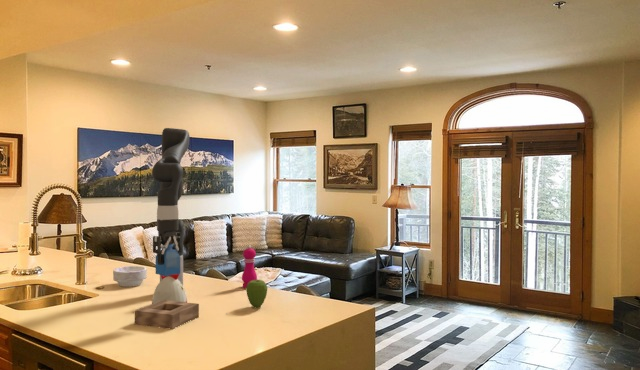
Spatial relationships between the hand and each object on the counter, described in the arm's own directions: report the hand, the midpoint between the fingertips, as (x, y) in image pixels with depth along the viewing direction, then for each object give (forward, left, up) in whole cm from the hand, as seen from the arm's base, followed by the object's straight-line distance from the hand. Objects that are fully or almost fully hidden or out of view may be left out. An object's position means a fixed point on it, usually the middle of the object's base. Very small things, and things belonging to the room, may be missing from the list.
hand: (167, 262), depth 182 cm
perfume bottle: (0, 0, -4) cm, 4 cm away
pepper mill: (+2, +60, -21) cm, 64 cm away
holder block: (0, 0, -21) cm, 21 cm away
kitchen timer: (-13, +19, -22) cm, 31 cm away
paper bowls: (-54, +44, -22) cm, 73 cm away
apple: (+22, +28, -21) cm, 41 cm away
